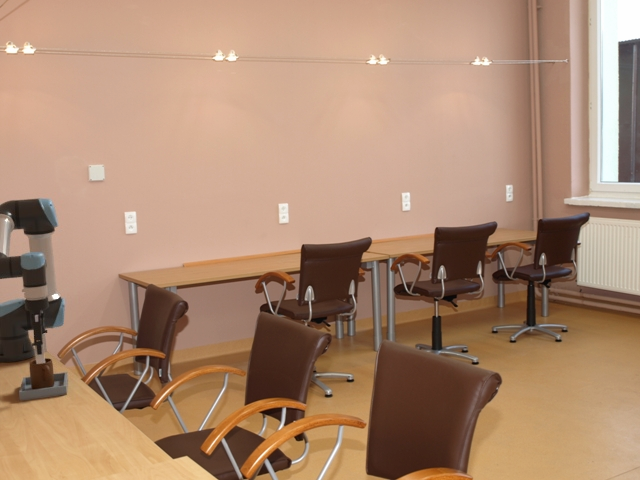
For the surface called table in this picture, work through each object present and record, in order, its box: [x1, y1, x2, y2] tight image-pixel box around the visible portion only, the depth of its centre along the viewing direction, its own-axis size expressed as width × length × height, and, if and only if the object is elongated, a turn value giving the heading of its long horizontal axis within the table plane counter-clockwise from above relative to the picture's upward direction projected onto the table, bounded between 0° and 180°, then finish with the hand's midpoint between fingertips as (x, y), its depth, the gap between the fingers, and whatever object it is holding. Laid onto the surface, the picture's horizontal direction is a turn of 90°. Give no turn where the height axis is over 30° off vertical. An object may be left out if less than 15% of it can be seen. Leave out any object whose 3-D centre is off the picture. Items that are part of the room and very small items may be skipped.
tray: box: [18, 371, 69, 402], centre depth 249 cm, size 17×15×3 cm
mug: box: [28, 357, 55, 390], centre depth 248 cm, size 12×8×9 cm, turn 37°
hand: (41, 357), depth 249 cm, fingers open, 13 cm apart
